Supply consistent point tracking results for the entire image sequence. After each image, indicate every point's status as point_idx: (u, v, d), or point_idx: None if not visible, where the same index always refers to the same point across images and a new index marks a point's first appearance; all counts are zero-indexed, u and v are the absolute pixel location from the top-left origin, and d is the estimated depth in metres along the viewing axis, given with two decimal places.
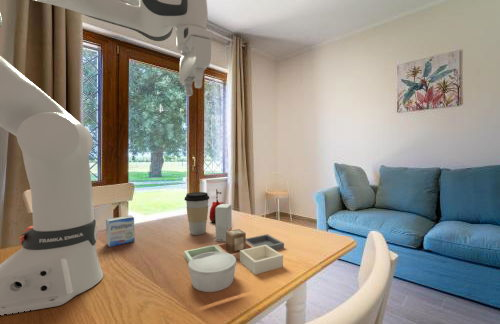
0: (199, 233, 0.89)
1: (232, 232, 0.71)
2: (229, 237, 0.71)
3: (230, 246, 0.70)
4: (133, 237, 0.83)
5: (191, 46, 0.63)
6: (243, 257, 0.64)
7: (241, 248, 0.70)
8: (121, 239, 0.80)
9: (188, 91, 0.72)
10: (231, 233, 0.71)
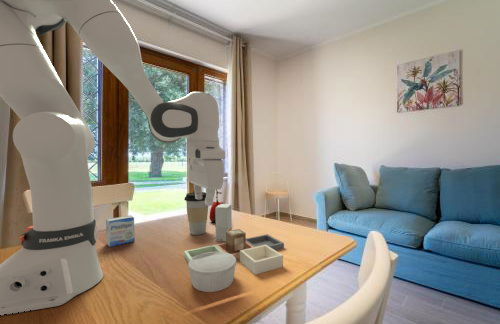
0: (199, 233, 0.89)
1: (232, 232, 0.71)
2: (229, 237, 0.71)
3: (230, 246, 0.70)
4: (133, 236, 0.83)
5: (203, 166, 0.61)
6: (243, 257, 0.64)
7: (241, 248, 0.70)
8: (121, 239, 0.80)
9: (198, 196, 0.70)
10: (231, 233, 0.71)
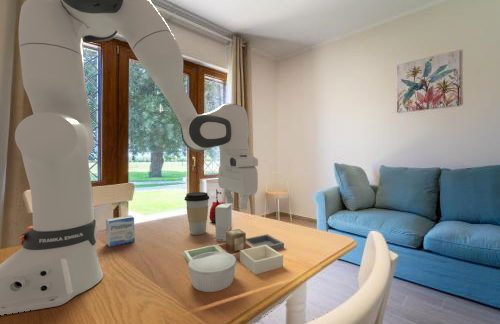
0: (199, 233, 0.89)
1: (232, 232, 0.71)
2: (229, 237, 0.71)
3: (230, 246, 0.70)
4: (133, 236, 0.83)
5: (237, 173, 0.66)
6: (243, 257, 0.64)
7: (241, 248, 0.70)
8: (121, 239, 0.80)
9: (229, 200, 0.75)
10: (231, 233, 0.71)
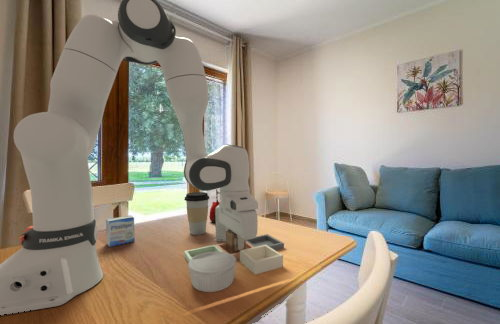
0: (199, 233, 0.89)
1: (232, 232, 0.71)
2: (229, 237, 0.71)
3: (230, 246, 0.70)
4: (133, 236, 0.83)
5: (237, 215, 0.66)
6: (243, 257, 0.64)
7: None
8: (121, 239, 0.80)
9: None
10: (231, 233, 0.71)
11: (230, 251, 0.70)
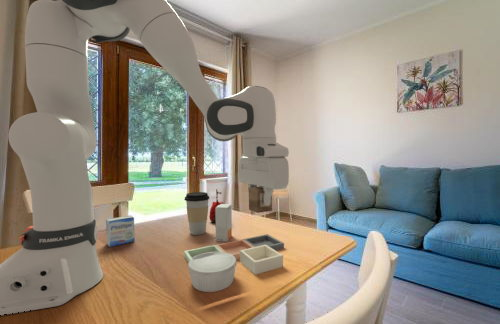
0: (199, 233, 0.89)
1: (256, 187, 0.63)
2: (253, 192, 0.62)
3: (255, 202, 0.61)
4: (133, 236, 0.83)
5: (265, 164, 0.57)
6: (243, 257, 0.64)
7: (267, 205, 0.62)
8: (121, 239, 0.80)
9: None
10: (256, 188, 0.62)
11: (255, 208, 0.62)
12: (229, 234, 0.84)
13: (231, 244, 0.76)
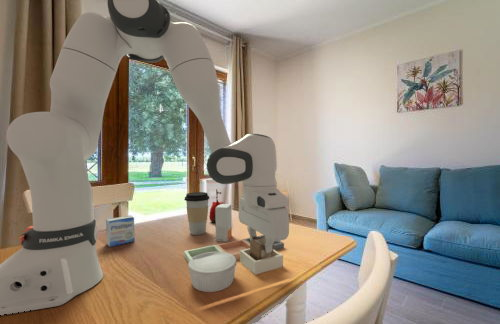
0: (199, 233, 0.89)
1: (258, 242, 0.63)
2: (254, 247, 0.62)
3: (256, 258, 0.62)
4: (133, 236, 0.83)
5: (265, 213, 0.58)
6: (243, 257, 0.64)
7: None
8: (121, 239, 0.80)
9: None
10: (257, 243, 0.62)
11: None
12: (229, 234, 0.84)
13: (231, 244, 0.76)
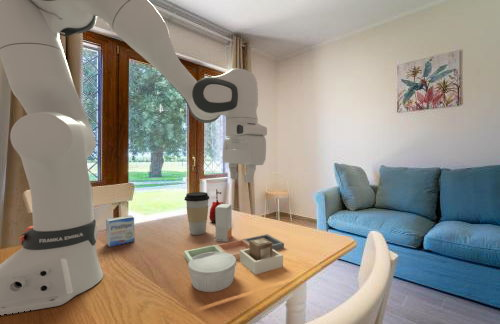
0: (199, 233, 0.89)
1: (257, 242, 0.63)
2: (253, 247, 0.63)
3: (255, 258, 0.62)
4: (133, 236, 0.83)
5: (244, 142, 0.60)
6: (243, 257, 0.64)
7: None
8: (121, 239, 0.80)
9: (233, 175, 0.70)
10: (256, 243, 0.63)
11: None
12: (229, 234, 0.84)
13: (231, 244, 0.76)
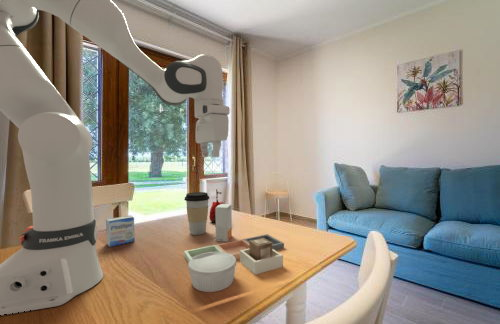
0: (199, 233, 0.89)
1: (257, 242, 0.63)
2: (253, 247, 0.63)
3: (255, 258, 0.62)
4: (133, 236, 0.83)
5: (209, 120, 0.68)
6: (243, 257, 0.64)
7: None
8: (121, 239, 0.80)
9: (204, 153, 0.77)
10: (256, 243, 0.63)
11: None
12: (229, 234, 0.84)
13: (231, 244, 0.76)
